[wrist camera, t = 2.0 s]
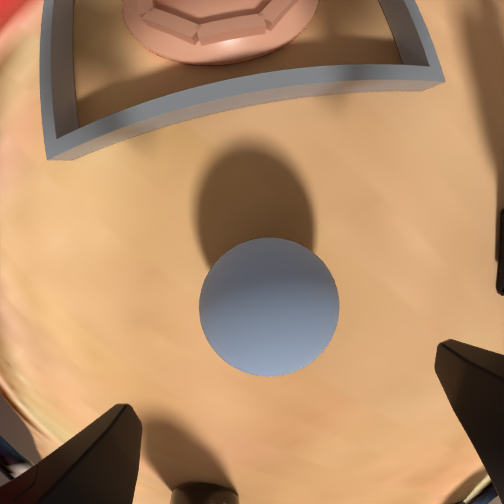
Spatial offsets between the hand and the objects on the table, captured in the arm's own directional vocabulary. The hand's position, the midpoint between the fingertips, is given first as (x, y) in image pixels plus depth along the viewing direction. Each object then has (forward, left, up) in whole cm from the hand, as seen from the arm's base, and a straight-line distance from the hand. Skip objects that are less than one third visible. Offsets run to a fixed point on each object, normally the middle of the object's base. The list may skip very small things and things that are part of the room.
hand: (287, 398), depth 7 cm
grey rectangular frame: (-1, -17, -9) cm, 19 cm away
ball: (0, 0, -6) cm, 6 cm away
